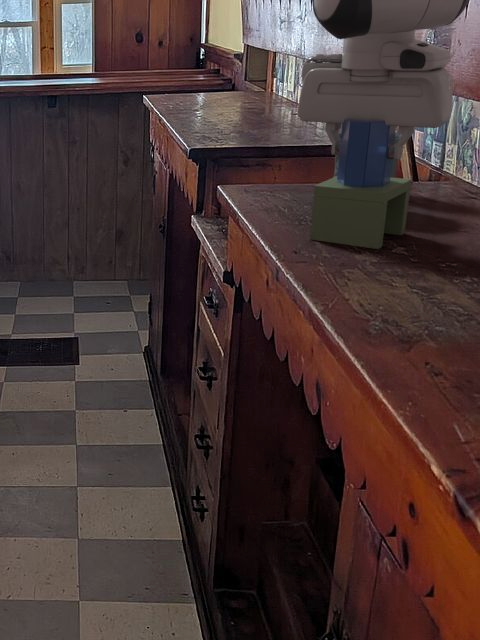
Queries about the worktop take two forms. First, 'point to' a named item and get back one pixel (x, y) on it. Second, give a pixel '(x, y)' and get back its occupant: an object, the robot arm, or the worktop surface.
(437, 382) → the worktop surface
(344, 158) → the cup
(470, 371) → the worktop surface
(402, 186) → the shelf
